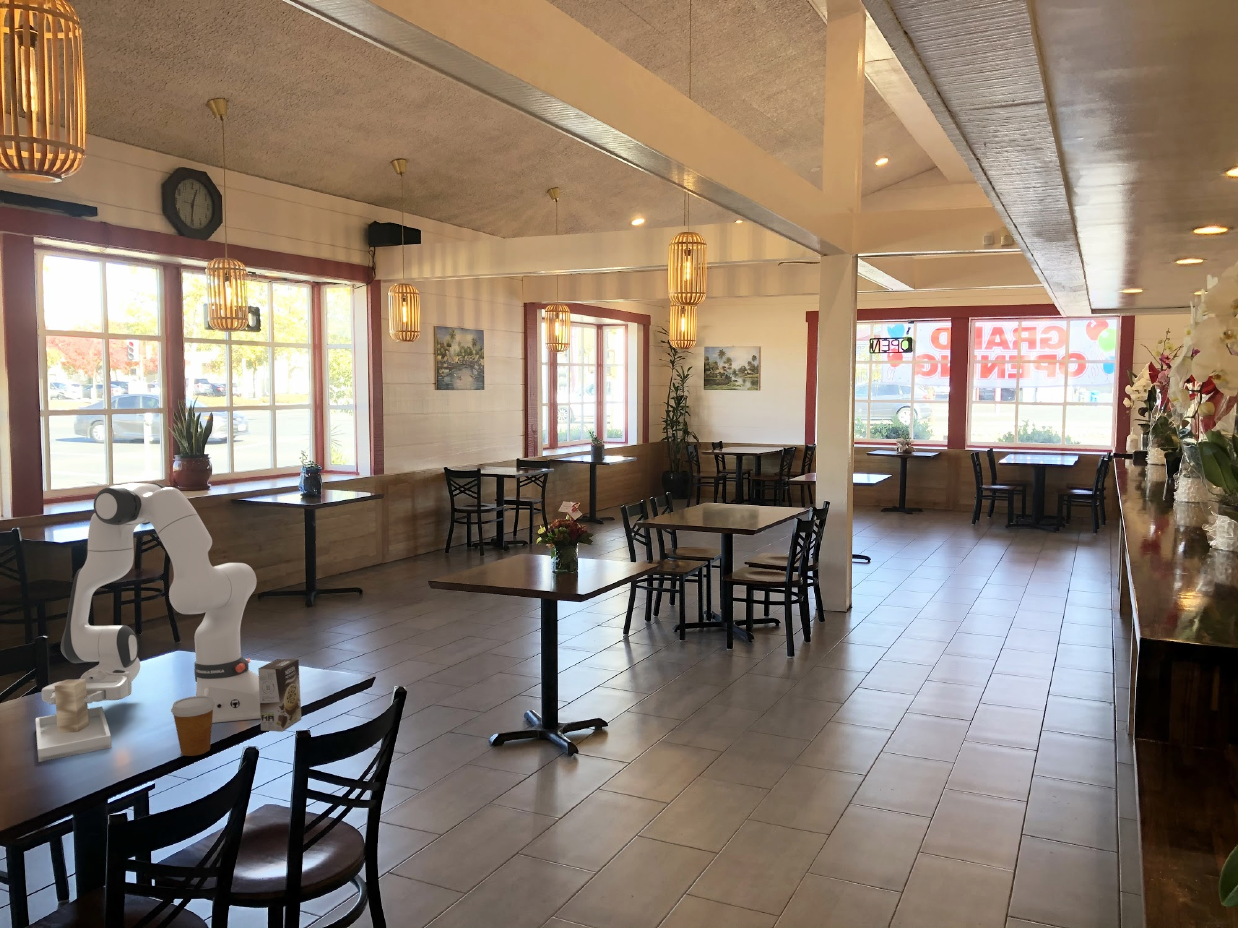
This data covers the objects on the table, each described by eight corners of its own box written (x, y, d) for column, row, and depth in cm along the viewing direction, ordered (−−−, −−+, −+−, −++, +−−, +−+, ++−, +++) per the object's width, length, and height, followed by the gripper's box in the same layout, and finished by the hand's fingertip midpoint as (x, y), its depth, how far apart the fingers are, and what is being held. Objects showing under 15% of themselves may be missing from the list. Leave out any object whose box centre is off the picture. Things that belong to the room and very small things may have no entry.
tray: (111, 747, 227) (110, 735, 227) (38, 761, 219) (37, 749, 219) (102, 717, 249) (102, 706, 249) (36, 729, 241) (35, 717, 241)
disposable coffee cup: (206, 758, 219) (203, 708, 218) (166, 758, 219) (162, 708, 218) (224, 743, 229) (221, 694, 228) (185, 743, 229) (182, 695, 228)
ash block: (88, 724, 241) (85, 678, 240) (78, 731, 236) (74, 685, 235) (69, 725, 240) (65, 679, 240) (57, 732, 235) (54, 685, 235)
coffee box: (283, 732, 235) (280, 668, 234) (260, 730, 236) (256, 667, 235) (302, 719, 244) (299, 658, 243) (280, 718, 245) (277, 657, 244)
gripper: (58, 673, 250) (26, 689, 236) (135, 670, 250) (108, 687, 236) (59, 696, 250) (28, 714, 237) (137, 694, 251) (110, 711, 237)
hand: (69, 700), depth 237 cm, fingers open, 7 cm apart
